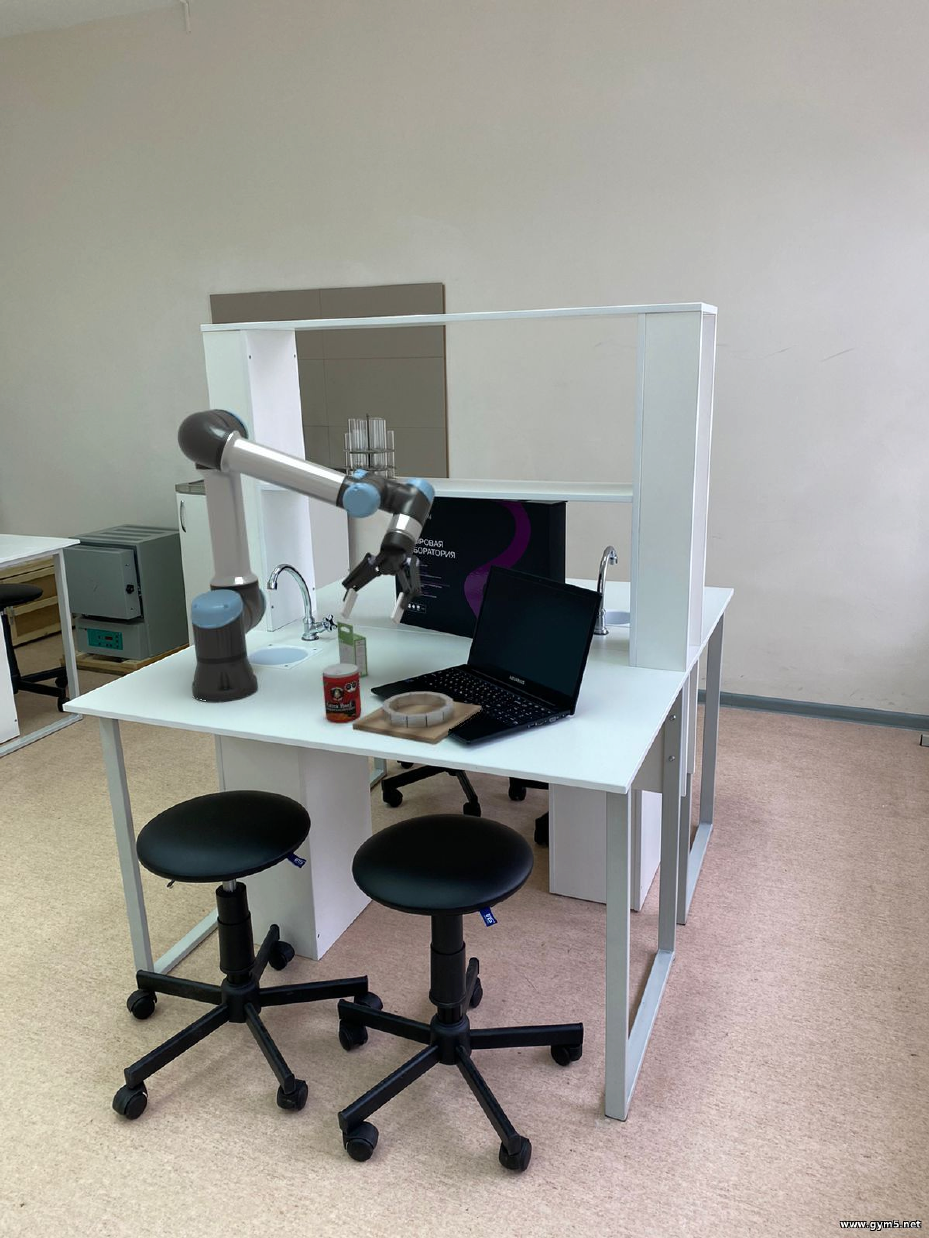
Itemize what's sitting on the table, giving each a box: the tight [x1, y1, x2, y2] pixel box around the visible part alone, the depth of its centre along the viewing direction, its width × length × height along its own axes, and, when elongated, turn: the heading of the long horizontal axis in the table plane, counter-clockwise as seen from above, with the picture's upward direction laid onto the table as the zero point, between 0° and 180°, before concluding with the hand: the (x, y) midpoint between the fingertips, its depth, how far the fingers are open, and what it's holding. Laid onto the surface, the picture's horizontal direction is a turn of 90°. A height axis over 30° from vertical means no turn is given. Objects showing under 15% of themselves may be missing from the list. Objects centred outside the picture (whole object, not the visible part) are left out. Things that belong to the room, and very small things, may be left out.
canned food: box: [322, 663, 362, 724], centre depth 205 cm, size 8×8×11 cm
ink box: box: [336, 621, 369, 678], centre depth 232 cm, size 7×4×13 cm, turn 40°
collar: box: [381, 691, 454, 728], centre depth 202 cm, size 15×15×2 cm
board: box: [352, 701, 483, 745], centre depth 202 cm, size 20×20×1 cm
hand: (368, 618), depth 210 cm, fingers open, 13 cm apart
